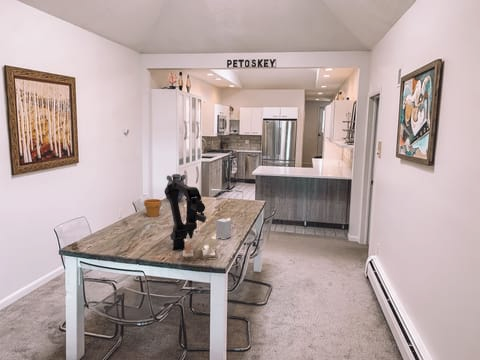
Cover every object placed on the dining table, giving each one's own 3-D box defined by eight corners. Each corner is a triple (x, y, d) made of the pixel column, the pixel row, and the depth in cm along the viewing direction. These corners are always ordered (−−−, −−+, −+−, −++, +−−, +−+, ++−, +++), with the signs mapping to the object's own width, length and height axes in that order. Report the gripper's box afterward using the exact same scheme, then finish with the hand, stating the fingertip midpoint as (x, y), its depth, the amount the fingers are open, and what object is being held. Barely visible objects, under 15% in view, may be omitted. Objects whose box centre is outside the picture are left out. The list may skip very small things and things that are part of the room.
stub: (182, 256, 199) (182, 247, 198) (182, 251, 208) (182, 242, 207) (193, 256, 200) (193, 246, 199) (193, 251, 209) (193, 241, 208)
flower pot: (140, 216, 291) (140, 201, 289) (150, 213, 304) (150, 198, 302) (155, 218, 286) (155, 203, 285) (164, 215, 300) (164, 199, 298)
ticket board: (185, 260, 198) (185, 256, 198) (185, 252, 210) (185, 249, 209) (217, 259, 201) (217, 255, 200) (215, 252, 213) (215, 248, 212)
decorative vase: (180, 199, 367) (180, 172, 363) (190, 202, 353) (190, 175, 349) (161, 201, 353) (162, 174, 349) (171, 205, 339) (171, 176, 335)
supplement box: (231, 238, 242) (231, 220, 240) (223, 240, 236) (223, 222, 234) (223, 235, 246) (223, 218, 245) (215, 237, 241) (216, 219, 239)
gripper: (206, 213, 193) (205, 240, 195) (205, 206, 211) (204, 231, 213) (185, 213, 191) (185, 241, 193) (186, 206, 210) (185, 231, 212)
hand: (191, 236), depth 203 cm, fingers open, 9 cm apart
